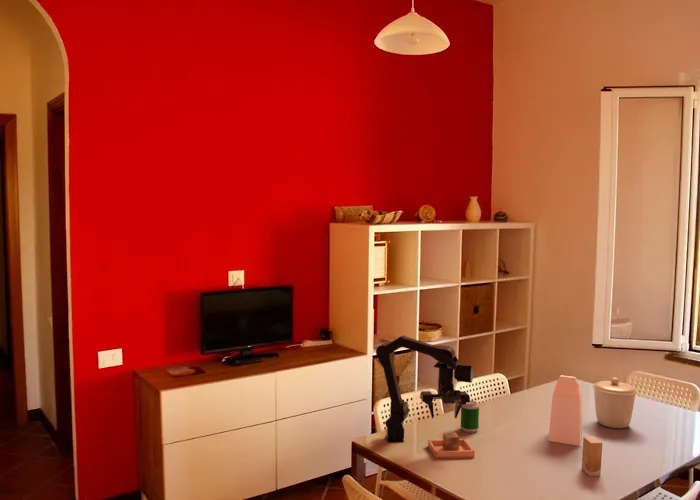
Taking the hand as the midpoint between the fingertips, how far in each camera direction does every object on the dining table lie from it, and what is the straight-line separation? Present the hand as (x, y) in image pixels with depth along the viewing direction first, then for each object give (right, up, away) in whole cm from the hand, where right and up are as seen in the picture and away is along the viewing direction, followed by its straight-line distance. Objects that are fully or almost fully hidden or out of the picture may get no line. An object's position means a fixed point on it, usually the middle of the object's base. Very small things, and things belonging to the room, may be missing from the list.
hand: (443, 418), depth 234 cm
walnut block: (+2, -11, -4) cm, 12 cm away
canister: (+79, -11, +29) cm, 85 cm away
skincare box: (+50, -14, -21) cm, 56 cm away
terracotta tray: (+2, -12, -4) cm, 13 cm away
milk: (+52, -12, +12) cm, 55 cm away
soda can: (+14, -11, +20) cm, 26 cm away
